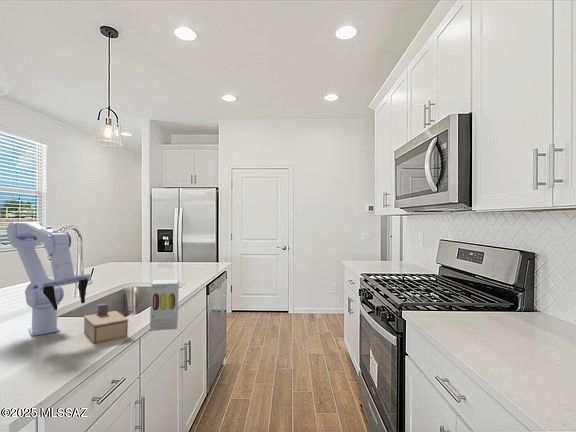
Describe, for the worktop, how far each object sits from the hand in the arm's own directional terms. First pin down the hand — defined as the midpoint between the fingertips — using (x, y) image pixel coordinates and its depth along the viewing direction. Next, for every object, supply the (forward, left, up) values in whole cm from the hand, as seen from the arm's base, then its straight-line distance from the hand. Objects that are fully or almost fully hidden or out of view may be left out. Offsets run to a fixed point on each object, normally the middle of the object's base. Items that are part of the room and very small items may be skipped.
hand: (69, 306), depth 110 cm
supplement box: (+6, +29, -11) cm, 32 cm away
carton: (+2, +10, -11) cm, 15 cm away
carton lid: (+2, +10, -6) cm, 12 cm away
